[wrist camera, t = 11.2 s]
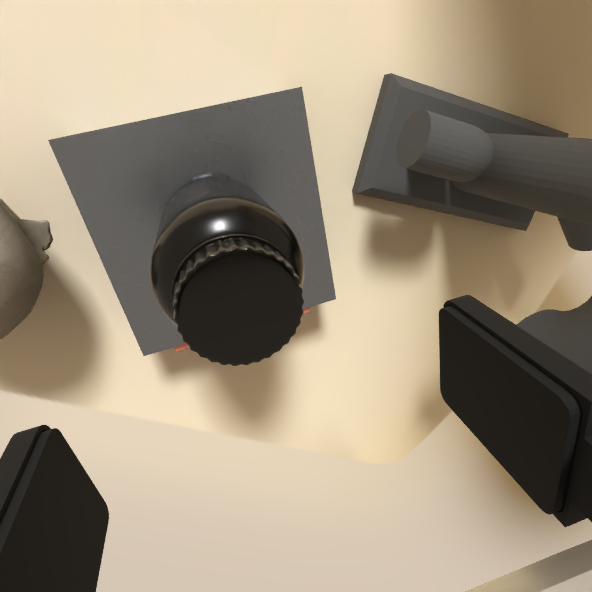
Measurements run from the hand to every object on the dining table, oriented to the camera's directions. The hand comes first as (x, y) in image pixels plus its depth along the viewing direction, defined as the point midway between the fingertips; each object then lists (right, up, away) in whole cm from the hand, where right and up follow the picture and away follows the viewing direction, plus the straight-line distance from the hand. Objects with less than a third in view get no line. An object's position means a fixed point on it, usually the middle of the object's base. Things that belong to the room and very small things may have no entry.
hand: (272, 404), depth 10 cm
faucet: (+13, +11, +25) cm, 30 cm away
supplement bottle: (-4, +7, +15) cm, 18 cm away
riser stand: (-6, +9, +20) cm, 22 cm away
